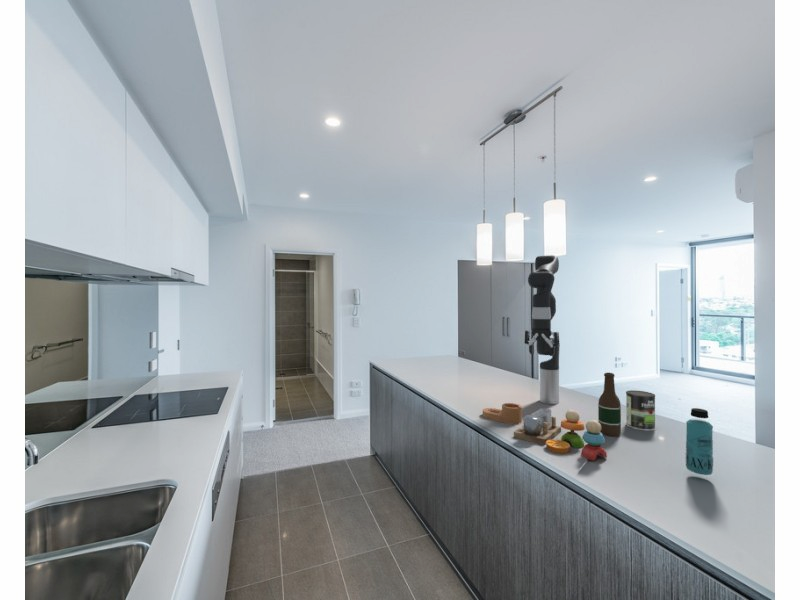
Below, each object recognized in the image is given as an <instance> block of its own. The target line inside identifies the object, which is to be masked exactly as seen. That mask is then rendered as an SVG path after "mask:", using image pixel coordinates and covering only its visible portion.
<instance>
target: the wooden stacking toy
mask: <svg viewBox="0 0 800 600" xmlns="http://www.w3.org/2000/svg"><path fill="white" fill-rule="evenodd" d="M564 415H565V418H564V419H562V420H561V422H560V427H561V429H564V430H568V431H567V432H565V433H564V434H563V435H562V436H561V437H560V439H552V440H547V441H546V444H545V445H546V448H547V450H548V451H550V452H552V453H556V454H567V453H569V451H570V448H571V446H572V448H575V449H580V448H581V449H582V450H581V452H580V453H581V454H580V455H581V456H582V457H583V458H585V459H587V460H590V461H595V460H596V459H597V456H598V455H599V456H601V457H603V458H607V457H608V455H607V451H606V450H605V449H604V448H603V447H602V446H601V445H604V444H605V442H606V439H605V437H604V435H603V434H602V433H601V432H600V431H601V425H600V423H599V422H598V421H597V420H595V419H590V420H587V422H586V423H585V425H584V423H583V422H582V421H581V420H580V414H579V412H578V411H576V410H575V409H569V410H567V411H566V412H565V414H564ZM585 429H586V430H585ZM584 430H585V431H584ZM576 431H577V432H576ZM580 431H581V432H582V431H584V433H583V434H582V436H581V435H579V433H578V432H580ZM585 443H586V444H585Z"/></svg>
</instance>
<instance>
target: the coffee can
mask: <svg viewBox="0 0 800 600" xmlns="http://www.w3.org/2000/svg"><path fill="white" fill-rule="evenodd" d="M625 394H626V398H625V402H626V404H625V405H626V409H625V410H626V413H625V414H626V417H625V418H626V426H627V427H630V428H631V429H634V430H638V431H639V430H640V431H647V432H648V431H654V430H656V394H655V393H652V392H649V391H643V390H635V389H634V390H632V389H631V390H626V391H625Z"/></svg>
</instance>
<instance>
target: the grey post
mask: <svg viewBox="0 0 800 600" xmlns="http://www.w3.org/2000/svg"><path fill="white" fill-rule="evenodd" d="M551 417H552V409H549V408H543V407H540V408H538V410H536V411H534V412H532V413H531V414H527V415H524V416H523V426H524V433H525V434H527V435H530V436H540V435H541V432H542V431H543V422H547V423H548V426H550V425H552V422H551Z"/></svg>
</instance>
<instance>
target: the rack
mask: <svg viewBox="0 0 800 600" xmlns="http://www.w3.org/2000/svg"><path fill="white" fill-rule="evenodd" d="M556 419H557V417H556V416H551V425H550V426H548V423H547V422H543V431H542V432H541V435H540V436H530V435H527V434H525V433H524V425H522V426H521V427H518V429H515V430H514V431H513V438H517V439H520V440H525V441H529V442H533V443H536V444H540V445H543V446H545V445H546V441H547V440H554V438H555V437H557V435H559V434H560V433H562V427H561V425H560V426H558V425H557V420H556Z"/></svg>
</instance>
